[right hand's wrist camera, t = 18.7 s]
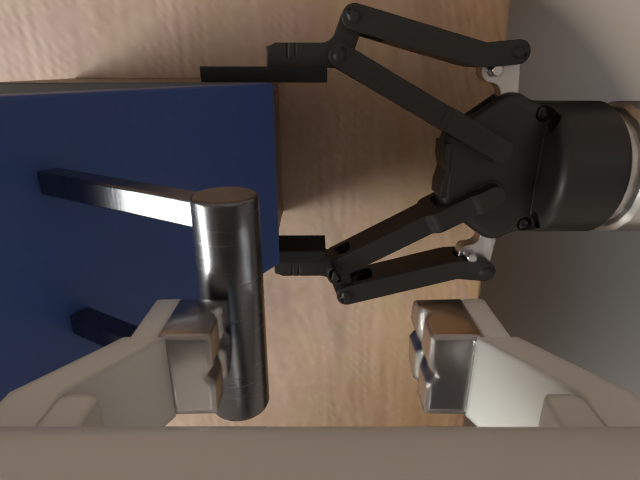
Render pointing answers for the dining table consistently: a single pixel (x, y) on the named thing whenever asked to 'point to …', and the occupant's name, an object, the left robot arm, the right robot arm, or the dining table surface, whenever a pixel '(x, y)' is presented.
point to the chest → (143, 83)
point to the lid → (135, 222)
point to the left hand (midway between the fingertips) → (214, 167)
